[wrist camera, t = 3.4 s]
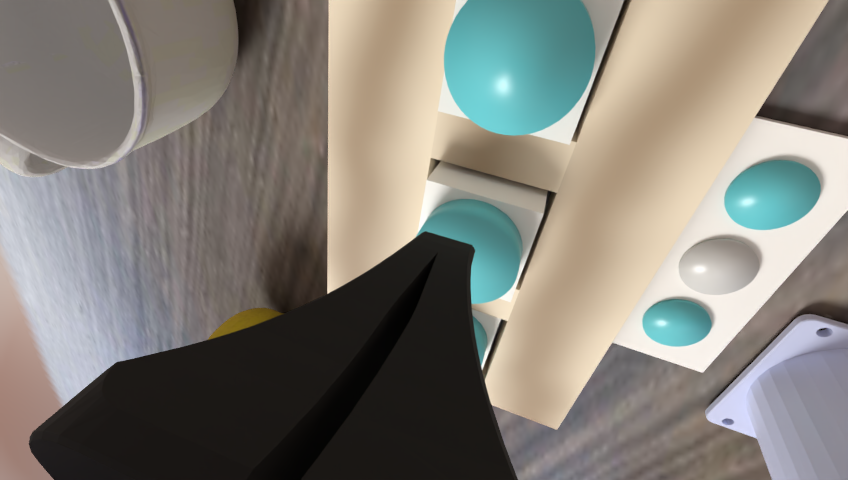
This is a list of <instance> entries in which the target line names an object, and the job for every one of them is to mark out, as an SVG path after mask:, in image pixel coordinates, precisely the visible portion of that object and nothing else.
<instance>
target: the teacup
mask: <svg viewBox="0 0 848 480" xmlns="http://www.w3.org/2000/svg"><path fill="white" fill-rule="evenodd" d="M237 55H238V24H237V17H236V10H235V6H234V1H233V0H0V164H1V165H3V166H4V167H5V168H7V169H9V170H10V171H12V172H14V173H17V174H19V175H22V176H26V177H43V176H46V175H50V174H53V173H57V172H59V171H61V170H63V169H65V168H67V167H71V168H81V169H96V168H102V167H105V166H109V165H112V164H114V163H116V162H119V161H121V160H122V159H123V158H125V157H126V156H127V155H128V154H130V153H131V151H133V150H135V149H138V148H140V147H142V146H144V145H146V144H149V143H151V142H153V141H155V140H157V139H160V138H162V137H164V136H165V135H167V134H169V133H171V132H173V131H175V130H177V129H179V128H181V127H183V126H184V125H186V124H188V123H190V122H191V121H193V120H195V119H197V118H198V117H200V116H201V115H202V114H204V113H205V112H206V111H208V110H209V109H210V108H211V107H213V106H214V105H215V104H216V102H217V101H218V100H219V99H220V98H221V96H222V95H223V94H224V92H225V91H226V89H227V87H228V86H229V83H230V81H231V78H232V76H233V73H234V70H235V65H236V61H237Z"/></svg>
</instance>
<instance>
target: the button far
mask: <svg viewBox="0 0 848 480" xmlns="http://www.w3.org/2000/svg"><path fill="white" fill-rule="evenodd" d="M472 315H473V323H474V330H475V337H476V343H477V349H478V354H479V359H480V363H481V368H482V369H483V367H484V364H485V361H486V359H487V356H488V353H489V351H490V348H491V345H492V342H493V340H494V337H495V334H496V332H497V329H498V326H499V323H500V321H501V319H500V318H497V317H494V316H491V315H488V314H485V313H482V312H479V311H476V310H474V309H472Z"/></svg>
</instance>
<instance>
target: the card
mask: <svg viewBox="0 0 848 480" xmlns="http://www.w3.org/2000/svg"><path fill="white" fill-rule="evenodd" d="M847 210H848V136H844V135H840V134H835V133H831V132H827V131H822V130H818V129H813V128H809V127H804V126H800V125H795V124H791V123H786V122H782V121H778V120H773V119H769V118H764V117H760V116H755V118H754V119H753V121H752V122H751V124H750V125H749V127H748V129H747V130H746V132H745V133H744V135H743V137H742V138H741V140H740V141H739V143H738V144H737V146H736V148H735V149H734V151H733V152H732V154H731V155H730V157H729V159H728V160H727V162H726V163H725V165H724V167H723V168H722V170H721V171H720V173H719V174H718V176H717V178H716V179H715V181H714V182H713V184H712V185H711V187H710V189H709V190H708V192H707V193H706V195H705V197H704V198H703V200H702V201H701V203H700V204H699V206H698V208H697V209H696V211H695V212H694V214H693V216H692V217H691V219H690V220H689V222H688V223H687V225H686V227H685V228H684V230H683V231H682V233H681V234H680V236H679V238H678V239H677V241H676V242H675V244H674V246H673V247H672V249H671V250H670V252H669V253H668V255H667V257H666V258H665V260H664V261H663V263H662V264H661V266H660V268H659V269H658V271H657V272H656V274H655V276H654V277H653V279H652V280H651V282H650V283H649V285H648V287H647V288H646V290H645V291H644V293H643V294H642V296H641V298H640V299H639V301H638V302H637V304H636V306H635V307H634V309H633V310H632V312H631V313H630V315H629V317H628V318H627V320H626V321H625V323H624V325H623V326H622V328H621V329H620V331H619V332H618V334H617V336H616V337H615V339H614V340H613V342H612V343H615V344H618V345H621V346H624V347H627V348H630V349H633V350H636V351H639V352H642V353H645V354H648V355H651V356H654V357H657V358H660V359H663V360H666V361H669V362H672V363H675V364H678V365H681V366H684V367H687V368H690V369H693V370H696V371H699V372H702V373H703V372H704V371H705V369H706V368H707V367H708V366H709V365H710V364H711V363H712V362H713V360H714V359H715V358H716V357H717V356H718V355H719V354H720V353H721V351H722V350H723V349H724V348H725V347H726V346H727V345H728V344H729V342H730V341H731V340H732V339H733V338H734V337H735V336H736V335H737V333H738V332H739V331H740V330H741V329H742V328H743V327H744V326H745V325H746V323H747V322H748V321H749V320H750V319H751V318H752V317H753V316H754V314H755V313H756V312H757V311H758V310H759V309H760V308H761V307H762V305H763V304H764V303H765V302H766V301H767V300H768V299H769V298H770V296H771V295H772V294H773V293H774V292H775V291H776V290H777V289H778V288H779V286H780V285H781V284H782V283H783V282H784V281H785V280H786V279H787V277H788V276H789V275H790V274H791V273H792V272H793V271H794V270H795V268H796V267H797V266H798V265H799V264H800V263H801V262H802V261H803V259H804V258H805V257H806V256H807V255H808V254H809V253H810V252H811V250H812V249H813V248H814V247H815V246H816V245H817V244H818V243H819V242H820V240H821V239H822V238H823V237H824V236H825V235H826V234H827V233H828V231H829V230H830V229H831V228H832V227H833V226H834V225H835V224H836V222H837V221H838V220H839V219H840V218H841V217H842V216H843V215H844V213H845V212H846V211H847Z"/></svg>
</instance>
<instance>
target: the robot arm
mask: <svg viewBox="0 0 848 480" xmlns="http://www.w3.org/2000/svg"><path fill="white" fill-rule="evenodd" d="M474 254H475V249H474V247H473V245H471V244H467V243H464V242H461V241H457V240H454V239H450V238H447V237H444V236H440V235H437V234H433V233H430V232H427V231H425V232H423V233H421V234H419V235H418V236H417V237H415V238H414V239H413V240H411V241H410V242H409V243H407V244H406V245H405V246H403V247H402V248H401V249H399V250H398V251H396V252H395V253H394V254H392V255H391V256H389V257H388V258H386V259H385V260H383V261H382V262H380V263H379V264H377V265H376V266H374V267H373V268H371V269H370V270H368V271H367V272H365V273H363V274H362V275H360V276H358V277H356V278H355V279H353V280H351V281H350V282H348V283H346V284H344V285H343V286H341V287H339V288H337V289H336V290H334V291H332V292H330V293H328V294H326V295H324V296H322V297H320V298H318V299H316V300H314V301H312V302H310V303H307V304H305V305H303V306H301V307H299V308H297V309H294V310H292V311H289V312H287V313H284V314H282V315H279V316H277V317H274V318H272V319H269V320H266V321H264V322H261V323H259V324H256V325H253V326H250V327H248V328H245V329H241V330H238V331H235V332H232V333H229V334H226V335H223V336H219V337H216V338H213V339H209V340H206V341H203V342H199V343H195V344H192V345H188V346H184V347H180V348H176V349H172V350H168V351H164V352H159V353H155V354H151V355H147V356H143V357H139V358H134V359H130V360H125V361H121V362H116V363H115V364H114V365H113V366H111V367H110V368H109V369H107V370H106V371H105V372H104V373H102V374H101V375H100V376H99V377H98V378H96V379H95V380H94V381H93V382H92V383H90V384H89V385H88V386H87V387H86V388H84V389H83V390H82V391H81V392H80V393H78V394H77V395H76V396H75V397H74V398H72V399H71V400H70V401H69V402H68V403H67V404H65V405H64V406H63V407H62V408H61V409H59V410H58V411H57V412H56V413H55V414H53V415H52V416H51V417H50V418H49V419H48V420H46V421H45V422H44V423H43V424H42V425H41V426H39V427H38V428H37V429H36V430H35V431H34V432H33V433H32V434H31V436H30V441H29V445H30V449H31V452H32V453H33V455H34V456H35V458H36V459H37V460H38V461H39V463H40V464H41V465H42V466H43V467H44V469H45V470H46V471H47V472H48V473H49V474H50V475H51V477H52V478H53V479H54V480H518V479H517V476H516V474H515V471H514V469H513V466H512V463H511V461H510V458H509V455H508V453H507V450H506V447H505V445H504V442H503V439H502V436H501V433H500V430H499V427H498V423H497V420H496V417H495V414H494V411H493V408H492V405H491V402H490V399H489V395H488V391H487V388H486V384H485V380H484V376H483V372H482V368H481V363H480V359H479V354H478V349H477V343H476V337H475V330H474V323H473V315H472V303H471V266H472V262H473V258H474ZM821 328H826V329H825V330H821V331H818V330H819V329H821ZM705 413H706V417H707V419H708V420H709V421H710V422H712V423H715V424H718V425H721V426H724V427H726V428H729V429H732V430H735V431H738V432H740V433H743V434H746V435H749V436H752V437H755V438H757V439H758V442H759V445H760V448H761V450H762V453H763V456H764V459H765V461H766V464H767V467H768V470H769V472H770V475H771V478H772V480H848V324H845V323H841V322H838V321H835V320H831V319H828V318H825V317H821V316H818V315H813V314H805V315H801V316H799V317H797V318H796V319H794V320H793V321H792V323H791V324H790V325H789V326H788V327H787V328H786V329H785V330H784V331H783V332H782V333H781V334H780V335H779V336H778V337H777V338H776V339H775V340H774V341H773V342H772V343H771V344H770V345H769V346H768V347H767V348H766V349H765V350H764V351H763V352H762V353H761V354H760V355H759V356H758V357H757V358H756V359H755V360H754V361H753V362H752V363H751V364H750V365H749V366H748V367H747V368H746V369H745V370H744V371H743V372H742V373H741V374H740V375H739V376H738V377H737V378H736V379H735V380H734V381H733V382H732V383H731V384H730V385H729V386H728V387H727V389H726V390H725V391H724V392H723V393H722V394H721V395H720V396H719V397H718V398H717V399H716V400H715V401H714V402H713V403H712V404H711V405H710V406H709V407H708V408H707V409H706V411H705Z"/></svg>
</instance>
